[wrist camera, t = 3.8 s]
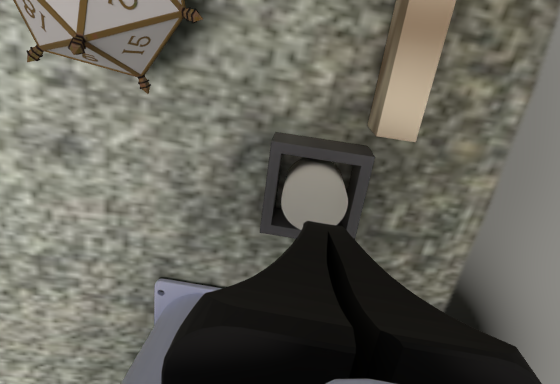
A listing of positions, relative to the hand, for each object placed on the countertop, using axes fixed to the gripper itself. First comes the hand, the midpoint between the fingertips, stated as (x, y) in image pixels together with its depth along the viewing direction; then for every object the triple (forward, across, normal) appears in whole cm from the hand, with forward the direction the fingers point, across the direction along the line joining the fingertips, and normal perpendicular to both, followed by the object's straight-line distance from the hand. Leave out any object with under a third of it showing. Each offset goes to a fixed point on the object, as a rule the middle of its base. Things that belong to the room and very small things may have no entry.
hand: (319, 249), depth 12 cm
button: (+10, 0, +1) cm, 10 cm away
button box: (+10, 0, +1) cm, 11 cm away
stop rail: (+11, -4, -8) cm, 14 cm away
